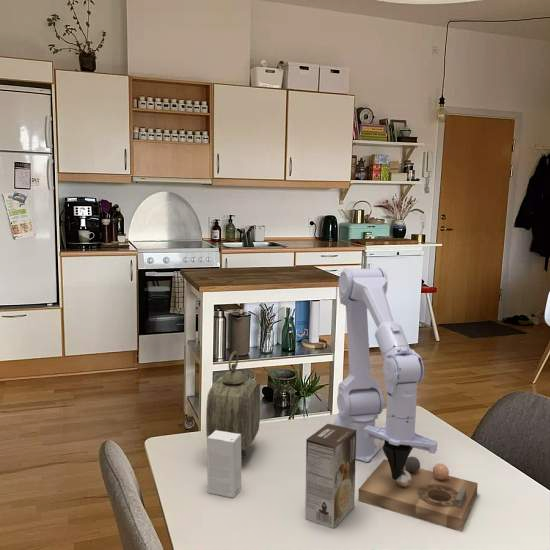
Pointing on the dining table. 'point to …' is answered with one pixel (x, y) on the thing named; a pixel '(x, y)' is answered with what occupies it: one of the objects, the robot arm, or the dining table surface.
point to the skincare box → (224, 463)
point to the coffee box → (330, 474)
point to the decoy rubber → (412, 464)
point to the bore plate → (421, 496)
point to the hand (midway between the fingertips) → (397, 477)
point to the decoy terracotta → (440, 471)
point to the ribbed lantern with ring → (234, 406)
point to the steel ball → (404, 479)
